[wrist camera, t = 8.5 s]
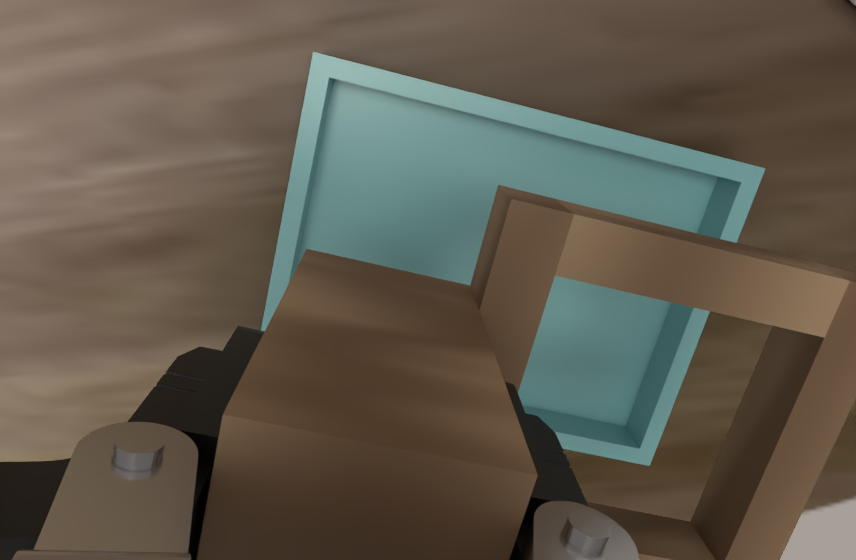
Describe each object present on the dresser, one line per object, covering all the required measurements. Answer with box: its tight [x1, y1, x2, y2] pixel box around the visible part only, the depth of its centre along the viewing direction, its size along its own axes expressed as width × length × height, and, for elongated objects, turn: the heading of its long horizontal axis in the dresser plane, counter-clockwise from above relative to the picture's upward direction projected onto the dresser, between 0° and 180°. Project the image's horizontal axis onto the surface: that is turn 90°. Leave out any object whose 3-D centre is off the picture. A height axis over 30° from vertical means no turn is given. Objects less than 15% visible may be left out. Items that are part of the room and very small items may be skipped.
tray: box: [261, 52, 765, 466], centre depth 23 cm, size 15×11×2 cm
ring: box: [197, 185, 856, 560], centre depth 12 cm, size 12×8×7 cm
